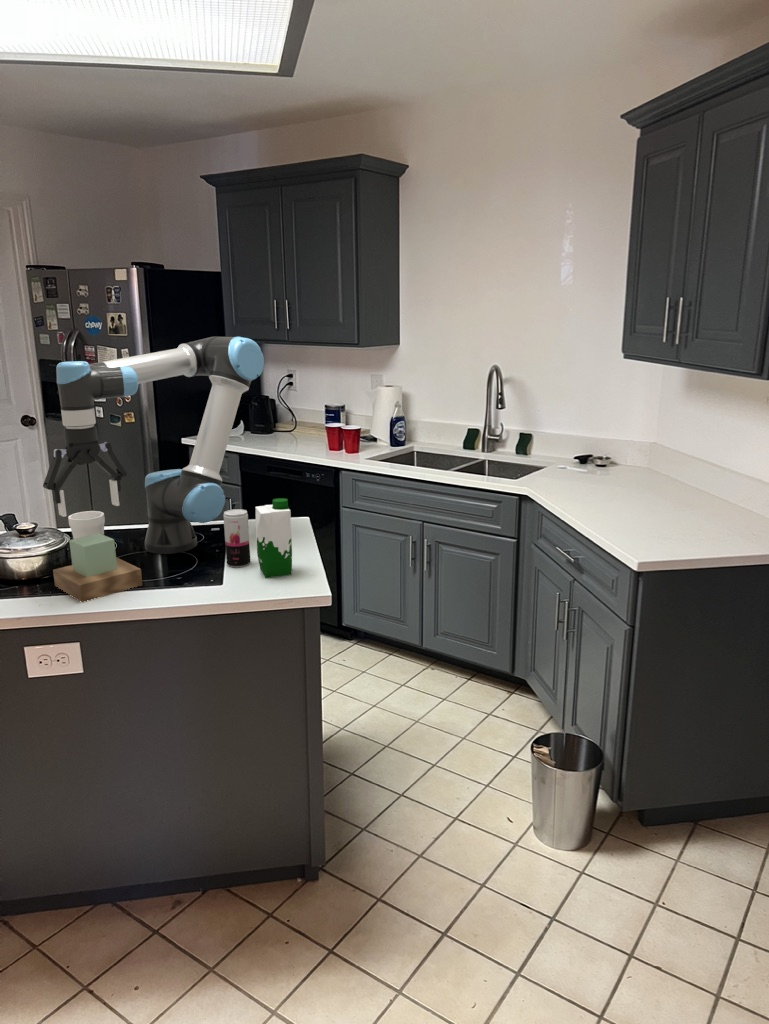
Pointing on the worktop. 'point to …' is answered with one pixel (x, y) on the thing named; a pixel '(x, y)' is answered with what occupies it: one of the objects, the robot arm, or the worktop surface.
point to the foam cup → (86, 523)
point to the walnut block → (97, 581)
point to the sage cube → (93, 554)
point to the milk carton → (274, 538)
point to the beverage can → (237, 537)
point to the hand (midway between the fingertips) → (89, 510)
